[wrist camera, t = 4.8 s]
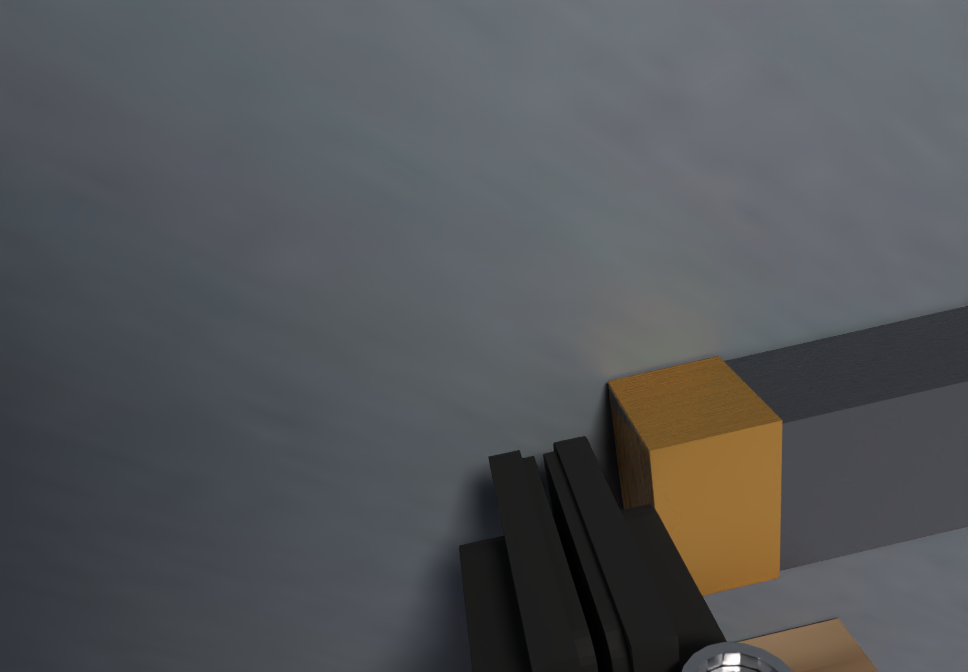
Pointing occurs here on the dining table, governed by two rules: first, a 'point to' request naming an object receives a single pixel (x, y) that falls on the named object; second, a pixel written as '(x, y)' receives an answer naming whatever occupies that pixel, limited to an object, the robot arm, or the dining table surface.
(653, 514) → the robot arm
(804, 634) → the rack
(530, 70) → the dining table surface
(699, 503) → the bar
